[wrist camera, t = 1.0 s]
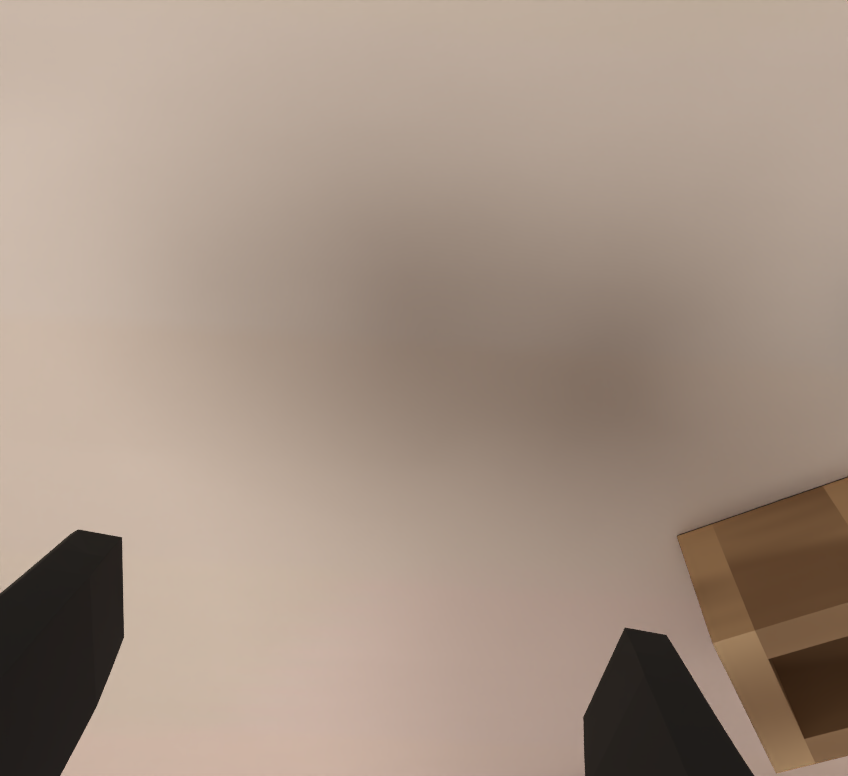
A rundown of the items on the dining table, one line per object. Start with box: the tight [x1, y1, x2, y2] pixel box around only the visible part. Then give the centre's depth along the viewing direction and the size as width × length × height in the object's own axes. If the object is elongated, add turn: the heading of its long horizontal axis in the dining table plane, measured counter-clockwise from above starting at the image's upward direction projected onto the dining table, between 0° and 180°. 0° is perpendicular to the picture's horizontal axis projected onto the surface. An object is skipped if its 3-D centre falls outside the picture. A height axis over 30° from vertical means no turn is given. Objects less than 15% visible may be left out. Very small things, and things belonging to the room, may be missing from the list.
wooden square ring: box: [677, 477, 848, 773], centre depth 20 cm, size 5×5×4 cm
